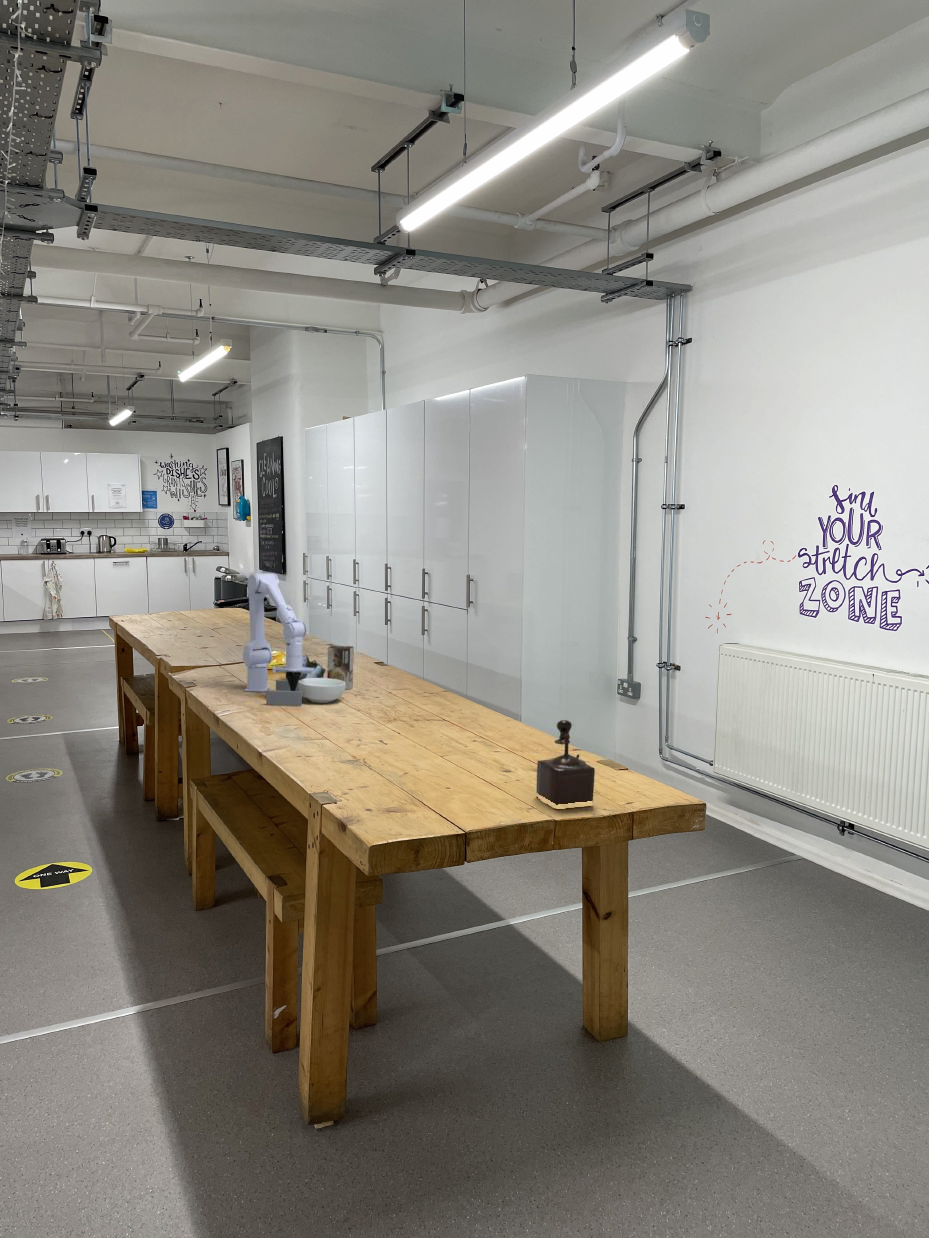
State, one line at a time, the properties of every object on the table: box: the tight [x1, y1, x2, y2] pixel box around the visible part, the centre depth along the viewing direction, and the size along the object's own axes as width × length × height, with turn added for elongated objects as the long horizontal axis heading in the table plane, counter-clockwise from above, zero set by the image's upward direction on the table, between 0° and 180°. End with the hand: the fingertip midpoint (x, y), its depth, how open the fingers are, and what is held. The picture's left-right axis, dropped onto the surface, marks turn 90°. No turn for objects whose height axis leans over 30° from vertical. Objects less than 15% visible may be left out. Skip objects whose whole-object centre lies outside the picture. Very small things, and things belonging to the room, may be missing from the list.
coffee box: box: [326, 645, 355, 691], centre depth 341 cm, size 9×6×16 cm
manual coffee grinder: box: [536, 719, 596, 805], centre depth 212 cm, size 16×11×18 cm
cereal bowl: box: [298, 677, 346, 704], centre depth 315 cm, size 17×17×7 cm
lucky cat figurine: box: [296, 653, 326, 680], centre depth 350 cm, size 15×12×14 cm
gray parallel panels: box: [265, 679, 303, 707], centre depth 315 cm, size 21×12×5 cm, turn 3°
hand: (293, 693), depth 315 cm, fingers closed
